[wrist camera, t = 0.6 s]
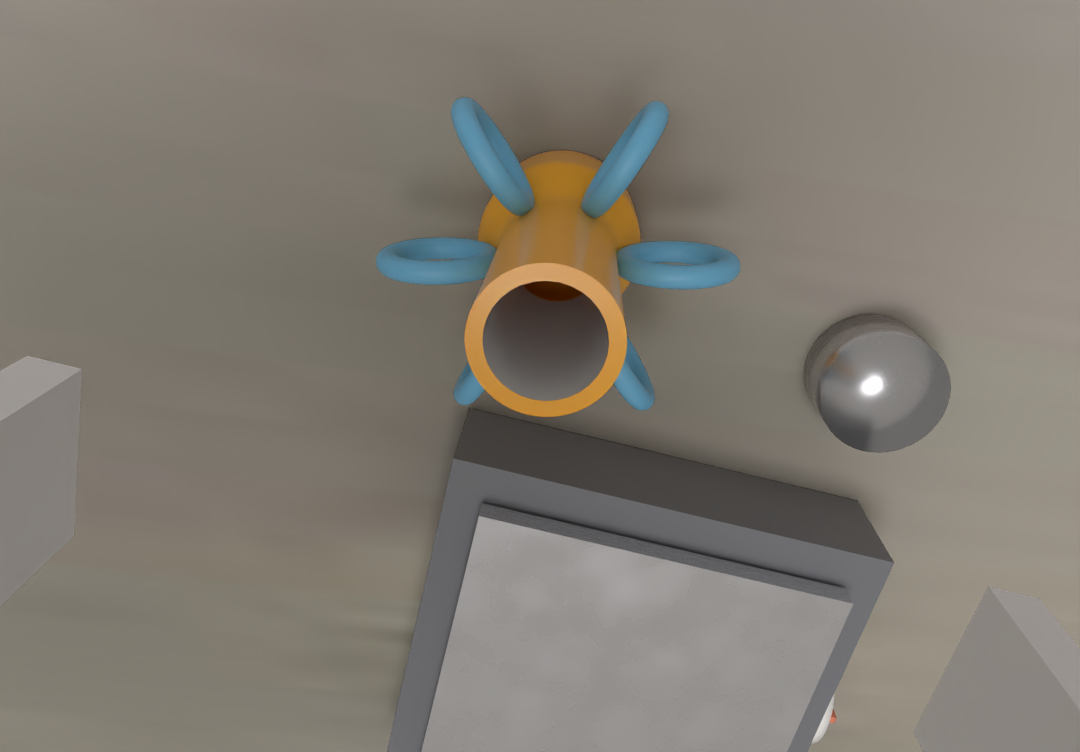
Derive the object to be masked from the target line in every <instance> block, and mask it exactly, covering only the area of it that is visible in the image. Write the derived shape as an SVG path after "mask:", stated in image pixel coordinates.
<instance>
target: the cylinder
mask: <svg viewBox="0 0 1080 752" xmlns="http://www.w3.org/2000/svg"><path fill="white" fill-rule="evenodd" d="M451 117H452V122H453V125H454V128H455V130H456V132H457V135H458V137H459V139H460V141H461V143H462V145H463V147H464V149H465V151H466V153H467V154H468V156H469V158H470V160H471V161H472V163H473V165H474V166H475V168H476V170H477V171H478V173H479V174H480V176H481V177H482V179H483V180H484V182H485V183H486V185H487V186H488V187H489V189H490V190H491V191H492V193H493V195H492V197H491V199H490V200H489V202H488V204H487V206H486V208H485V210H484V213H483V215H482V218H481V222H480V226H479V231H478V240H473V239H465V238H449V237H438V238H421V239H413V240H406V241H401V242H397V243H394V244H391V245H389V246H387V247H385V248H383V249H382V250H381V251H380V252H379V253H378V255H377V257H376V266H377V268H378V270H379V271H380V272H381V273H382V274H383V275H384V276H386V277H388V278H390V279H393V280H396V281H400V282H405V283H412V284H424V285H445V284H458V283H465V282H471V281H476V280H479V279H483V278H484V280H483V283H482V285H481V287H480V290H479V292H478V294H477V297H476V299H475V301H474V303H473V306H472V308H471V310H470V313H469V316H468V319H467V322H466V327H465V349H466V355H467V359H468V363H467V364H466V366H465V368H464V370H463V371H462V373H461V375H460V377H459V379H458V381H457V383H456V385H455V388H454V392H453V394H454V398H455V400H456V401H457V402H458V403H459V404H461V405H469V404H471V403H473V402H474V401H475V400H476V399H477V398H478V397H479V396H480V395H481V394H482V393H483V391H484V390H486V392H487V393H488V394H490V395H491V396H492V397H493V398H494V399H495V400H497V401H498V402H500V403H501V404H503V405H504V406H506V407H508V408H510V409H512V410H515V411H517V412H520V413H523V414H527V415H532V416H539V417H555V416H563V415H567V414H571V413H574V412H577V411H579V410H582V409H584V408H586V407H588V406H589V405H591V404H593V403H594V402H596V401H597V400H598V399H599V398H601V397H602V396H603V395H604V394H605V393H606V392H607V391H608V390H609V389H610V387H611V386H612V385H613V384H614V385H615V387H616V388H617V390H618V391H619V393H620V394H621V395H622V396H623V398H624V399H625V400H626V401H627V402H628V403H629V404H630V405H631V406H632V407H634V408H635V409H637V410H647V409H649V408H650V407H651V406H652V405H653V403H654V400H655V395H654V390H653V386H652V384H651V381H650V378H649V376H648V374H647V372H646V369H645V367H644V365H643V363H642V361H641V359H640V357H639V355H638V354H637V352H636V350H635V348H634V346H633V345H632V343H631V341H630V340H629V338H628V336H627V332H626V325H625V317H624V310H623V303H622V296H621V295H622V294H623V292H624V291H625V290H626V288H627V287H628V285H629V284H630V282H633V283H636V284H640V285H645V286H650V287H657V288H666V289H702V288H710V287H716V286H720V285H723V284H726V283H728V282H730V281H732V280H733V279H735V278H736V277H737V275H738V274H739V272H740V261H739V259H738V258H737V256H736V255H735V254H733V253H732V252H730V251H728V250H726V249H723V248H720V247H717V246H713V245H708V244H702V243H695V242H684V241H652V242H643V243H641V236H640V228H639V223H638V219H637V216H636V212H635V209H634V205H633V202H632V199H631V197H630V195H629V192H628V190H627V189H626V188H627V187H628V186H629V184H630V183H631V182H632V180H633V179H634V177H635V176H636V174H637V173H638V172H639V170H640V169H641V167H642V166H643V164H644V163H645V161H646V160H647V158H648V157H649V155H650V153H651V152H652V150H653V149H654V147H655V145H656V144H657V142H658V140H659V138H660V136H661V135H662V133H663V131H664V129H665V126H666V124H667V121H668V117H669V111H668V108H667V106H666V105H665V104H664V103H662V102H660V101H653V102H650V103H648V104H647V105H646V106H645V107H644V108H643V109H642V110H641V111H640V112H639V113H638V114H637V116H636V117H635V118H634V119H633V121H632V122H631V123H630V125H629V126H628V127H627V129H626V130H625V131H624V133H623V134H622V135H621V137H620V138H619V140H618V141H617V142H616V144H615V145H614V147H613V148H612V150H611V151H610V153H609V154H608V156H607V157H606V159H605V160H604V162H601V161H599V160H598V159H596V158H594V157H592V156H589V155H587V154H583V153H580V152H576V151H568V150H556V151H548V152H544V153H540V154H537V155H534V156H532V157H530V158H528V159H526V160H524V161H523V162H521V163H519V162H518V160H517V158H516V156H515V155H514V153H513V151H512V149H511V148H510V146H509V145H508V143H507V141H506V140H505V138H504V137H503V135H502V134H501V132H500V131H499V129H498V128H497V126H496V125H495V124H494V122H493V121H492V120H491V118H490V117H489V116H488V114H487V113H486V112H485V111H484V110H483V108H482V107H481V106H480V105H479V104H478V103H476V102H475V101H474V100H472V99H470V98H467V97H461V98H459V99H457V100H456V101H455V102H454V103H453V105H452V108H451ZM431 259H457V260H444V261H425V260H431ZM660 263H684V264H693V265H671V264H660Z"/></svg>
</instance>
